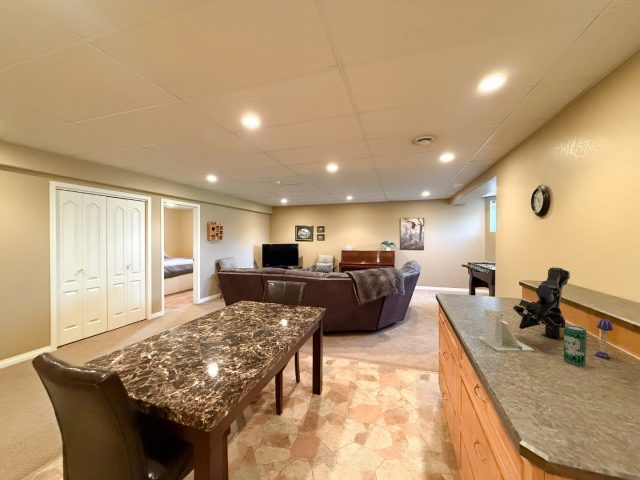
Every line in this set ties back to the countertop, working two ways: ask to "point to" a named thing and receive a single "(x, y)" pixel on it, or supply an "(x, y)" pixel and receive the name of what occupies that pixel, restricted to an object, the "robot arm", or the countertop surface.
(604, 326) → the toy lamp
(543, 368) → the countertop surface
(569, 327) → the can
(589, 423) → the countertop surface
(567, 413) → the countertop surface
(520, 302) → the robot arm
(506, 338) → the hinged cream panel
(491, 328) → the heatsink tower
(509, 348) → the pale green base plate
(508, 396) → the countertop surface
